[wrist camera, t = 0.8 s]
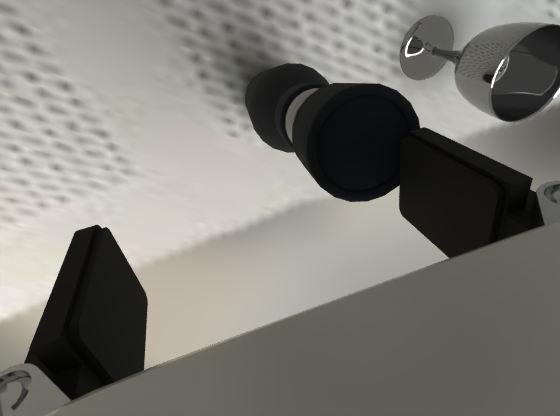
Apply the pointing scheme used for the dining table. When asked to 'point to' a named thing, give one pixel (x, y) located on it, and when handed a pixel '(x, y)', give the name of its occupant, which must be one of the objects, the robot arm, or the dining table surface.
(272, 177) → the dining table surface
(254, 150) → the dining table surface
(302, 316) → the robot arm
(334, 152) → the wine bottle
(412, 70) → the wine glass
